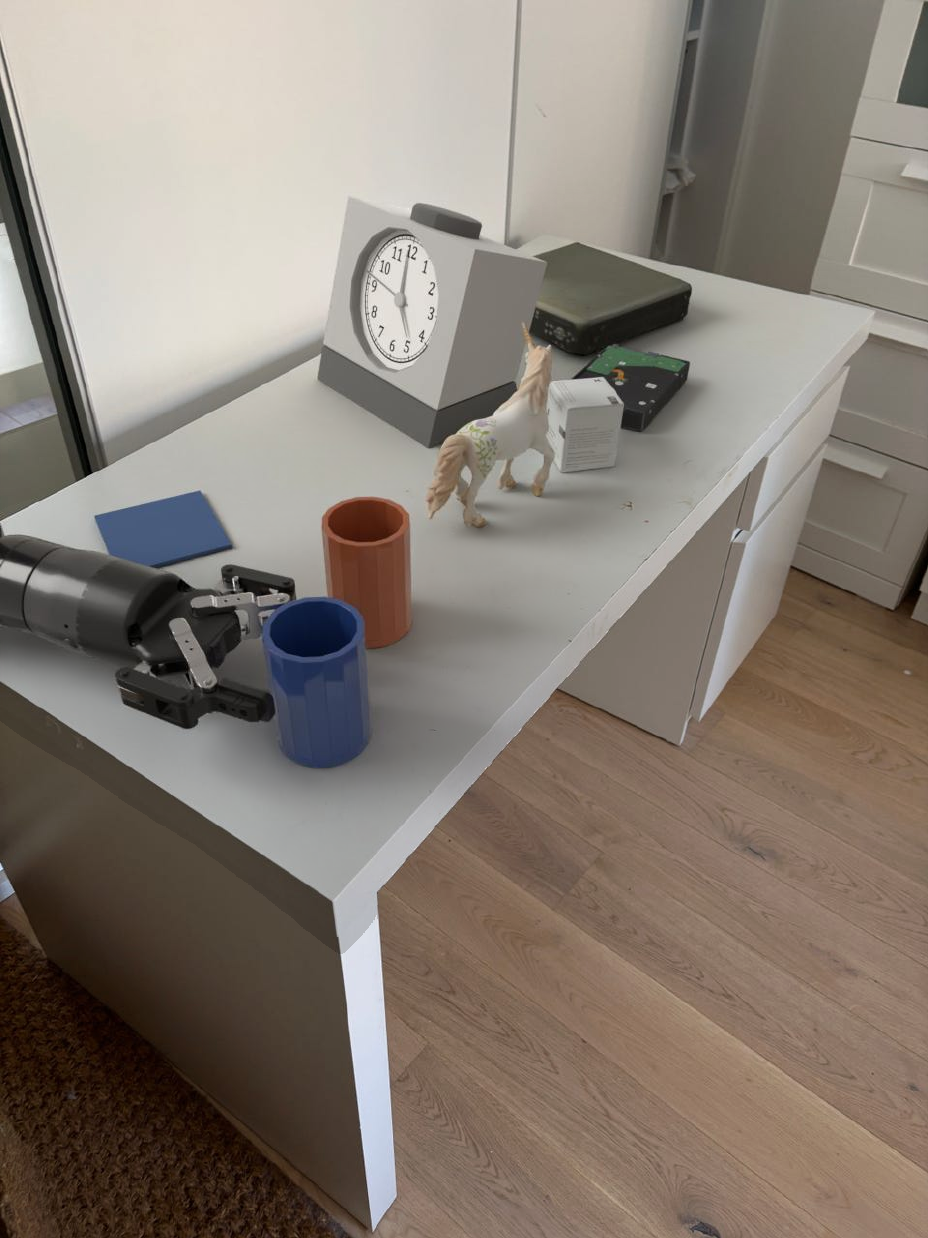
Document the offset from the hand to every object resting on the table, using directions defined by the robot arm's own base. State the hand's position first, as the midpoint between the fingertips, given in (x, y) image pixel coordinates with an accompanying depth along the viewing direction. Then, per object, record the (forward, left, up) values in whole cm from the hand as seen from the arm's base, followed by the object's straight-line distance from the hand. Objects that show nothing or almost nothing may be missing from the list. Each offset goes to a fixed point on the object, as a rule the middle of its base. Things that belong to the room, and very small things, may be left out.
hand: (304, 667), depth 66 cm
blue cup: (+1, -1, -6) cm, 6 cm away
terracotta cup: (+9, +9, -6) cm, 14 cm away
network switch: (+59, +55, -6) cm, 81 cm away
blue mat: (-3, +29, -6) cm, 30 cm away
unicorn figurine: (+27, +23, -6) cm, 36 cm away
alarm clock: (+31, +44, -6) cm, 54 cm away
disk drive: (+51, +33, -6) cm, 61 cm away
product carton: (+39, +24, -6) cm, 46 cm away
